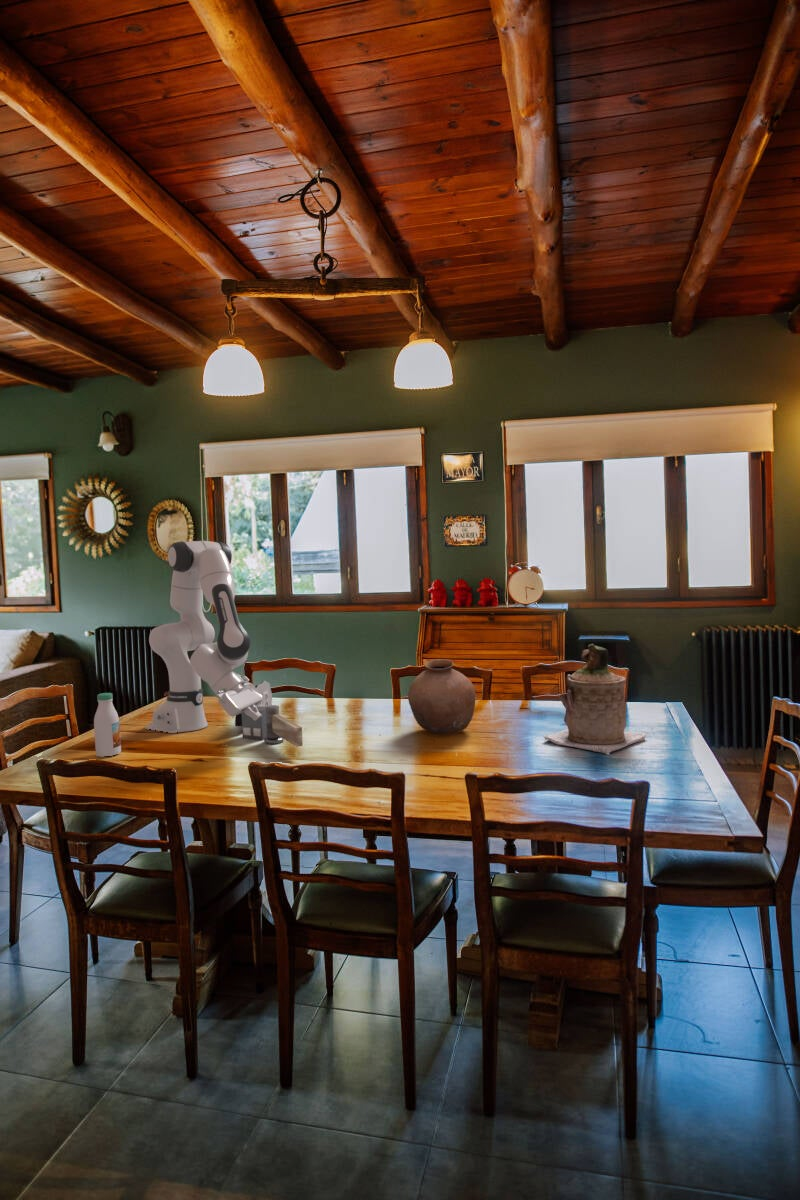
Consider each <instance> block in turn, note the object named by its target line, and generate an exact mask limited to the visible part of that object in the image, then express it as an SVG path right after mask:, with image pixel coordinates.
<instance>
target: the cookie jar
mask: <svg viewBox="0 0 800 1200" xmlns="http://www.w3.org/2000/svg"><path fill="white" fill-rule="evenodd" d="M587 648H588V649H584V650H582V652H581V660H583V661H585V663H584V664H583V665H582V667H581V668H578V669H577V670H576V671H575V672H573V673H572V674H567V675H566V677H565V686H566V688H567V690H566V693H565V692H564V693H563V692H562V693H560V694H559V700H560V702H561V703H562V705H563V707H564V709H565V714H564V715H565V716H564V719H563V722H564V724H565V726H567V728H565V729H563V730H560V731H558V732H555V733H553V734H549V735H547V734H546V735H543V738H544V739H545V740H547V741H550V742H552V743H554V744H556V745H558V746H559V745H560V746H566V747H571V748H577V749H583V750H588V751H592V752H597V753H601V754H604V755H605V754H606V755H607V756H610V753H612V752H615V751H618V750H620V749H623V748H625V747H627V746H630V745H633V744H636V743H639V742H643V741H645V740H646V737H647V734H646V733H641V732H633V731H625V729H626V727H627V705H626V700H625V688H624V686H625V685H626V683H627V679H626V677H624V676H622V675H617V674H615V673H614V672H612V671H610V670H609V668H608V665H609V651H608V649H606V648H604V647H602V646H598V645H594V643H591V644H588V646H587Z"/></svg>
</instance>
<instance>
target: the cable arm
mask: <svg viewBox="0 0 800 1200" xmlns="http://www.w3.org/2000/svg"><path fill="white" fill-rule="evenodd" d="M266 725H267V738H268V739H277V738H280V737H282V738H283V740H285V741H286V742H288V743H290V744H291V745H293V746H295V747H296V748H297V747H302V746H303V744H304V743H303V727H302V726H300V725H298V724H296V723H295V722H293V721H291V720H290V719H287V718H286V717H284V716H282V715H281V714H280V706H279V705H274V704H273V705H271V706H266Z"/></svg>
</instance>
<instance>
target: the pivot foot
mask: <svg viewBox="0 0 800 1200" xmlns="http://www.w3.org/2000/svg"><path fill="white" fill-rule="evenodd" d="M284 740H285V739H283V738H282V737H280V738H277V739H268V738H267V737H266V738H264V740H263V742H264V744H265V743H266V744H265V745H278V744H282V743H284Z"/></svg>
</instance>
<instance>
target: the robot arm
mask: <svg viewBox="0 0 800 1200" xmlns="http://www.w3.org/2000/svg"><path fill="white" fill-rule="evenodd" d="M232 558H233V556H232V550H231V548H230V546H229V545H228V544H227V543H225V542H221V541H210V540H192V541H183V540H181V541H176V542H173V543H172V544H171V545H170V547H169V548H168V551H167V562H168V566H169V567H170V569H172V570H173V572H172V577H171V583H170V584H171V586H170V587H171V588H170V594H169V595H170V597H169V604H170V607H171V608H172V609H173V610H174V611H176V612H177V613H179V616H180V621H177V622H171V623H170V622H169V623H164V624H162V625H158V626H156V627H154V628H152V630H151V631H150V633H149V637H148V642H149V646H150V648H151V650H152V651H153V652H154V653H156V654H157V656H160V657H161V659H162V661H164V663H165V665H166V668H167V671H168V682H169V690H168V691H165V692H164V695H163V696H164V697H165V696H166V700H164V702H163V703H162V704H160V705H159V706H158V707H157V708H156V709H155V710H154V711H153V713H152V719H151V721H152V722H151V723H148V724H147V725H146V726H145V730H149V729H151V730H150V731H155V730H156V731H155V732H160V731H163V732H162V733H166V732H168V734H177V732H178V733H183V732H191V731H192V732H193V731H198V730H201V729H204V728H207V727H208V726H209V724H208V721H207V718H206V714H205V710H204V704H203V701H204V691H203V688H202V681H203V682H205V683H206V684H208V686H209V687H210V689H211V690H212V692H214V694H215V695H216V698H217V699H218V700H217V701H218V703H219V705H220V706H221V707H222V709H223V710H224V711H225V712H226V713H227V715H228V716H230V717H232V718H233V717H236V715H238V714H240V713H243V712H244V713H245V714H246V715H248V716H250V717H251V718H252V719H253V720H255V721H256V720H258V719H260V718H261V716H262V715H261V714H260V713H259V711H258V709H257V707H256V706H257V705H258V704H259V703H260V702H261V701H262V700H263V697H262V695H261V694H260V692H259V691H258V690H257V689H256V688H255V686H254V684H253V683H251V682H249V681H250V679H249V678H248V677H247V676H246V675H242V674H241V675H240V674H238V673H237V672H235V671H234V670H236V669H237V668H239V667H241V666H242V665H244V664H245V662H246V661H247V659H248V657H249V656H248V655H249V649H250V646H251V639H250V638H251V637H250V635H249V633H248V631H246V629H245V628H244V627H243V625H242V624H241V622H240V618H239V615H238V612H237V611H238V610H237V608H236V607H237V606H236V604H235V597H236V583H235V578H234V577H235V576H234V573H233V569H232V567H231V564H232V561H233V560H232ZM203 595H204V598H205V601H207V603H210V604H211V605H213V606H214V609H215V613H216V617H217V620H218V625H219V631H218V635H217V641H216V642H214V640H215V636H216V631H215V627H214V626H213V625H212V623H211V622H210V621H209V620H207V618H206V617H205V614H204V610H203ZM192 651H193V652H192ZM188 652H192V654H191V655H190V658H189V655H188Z"/></svg>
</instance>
